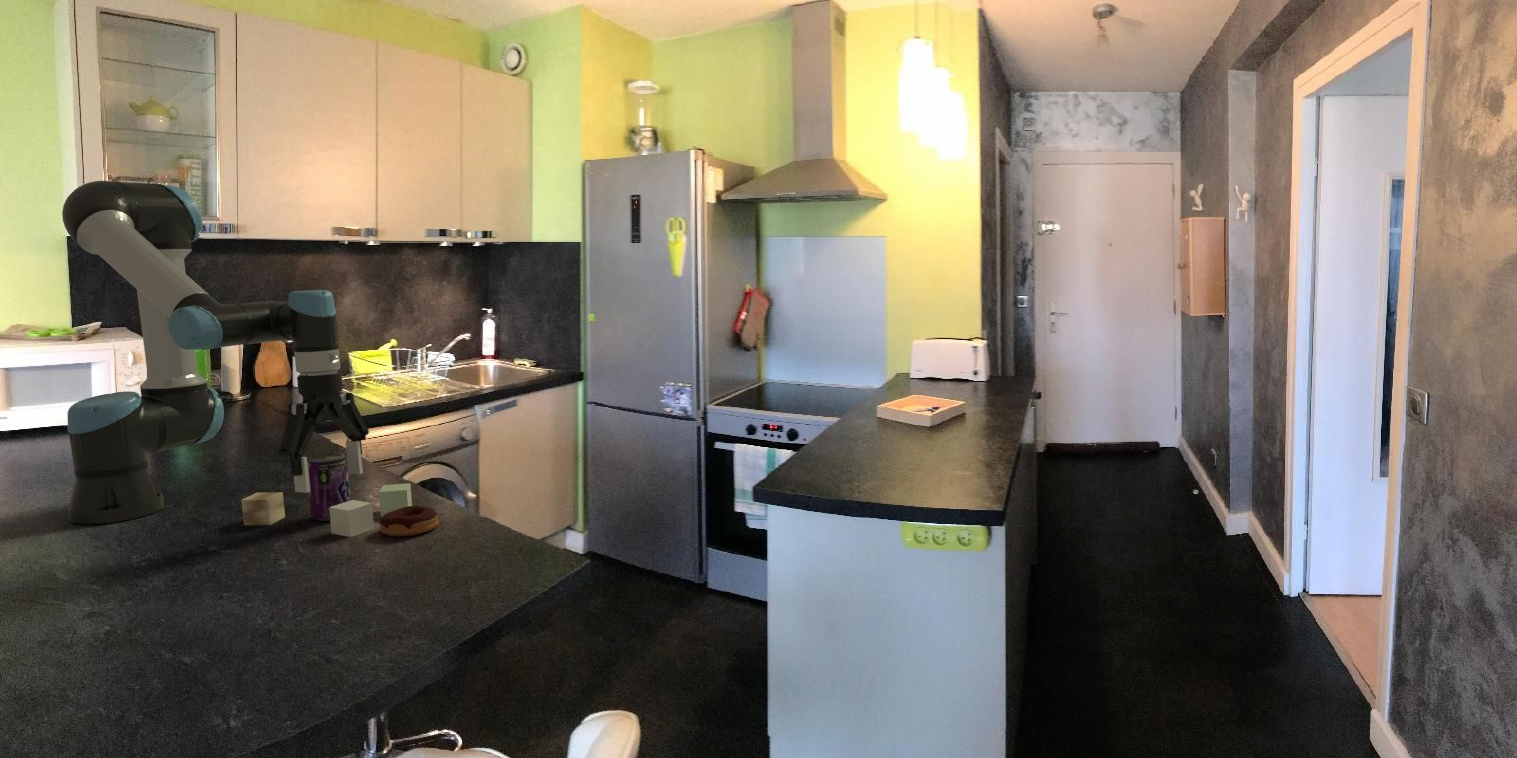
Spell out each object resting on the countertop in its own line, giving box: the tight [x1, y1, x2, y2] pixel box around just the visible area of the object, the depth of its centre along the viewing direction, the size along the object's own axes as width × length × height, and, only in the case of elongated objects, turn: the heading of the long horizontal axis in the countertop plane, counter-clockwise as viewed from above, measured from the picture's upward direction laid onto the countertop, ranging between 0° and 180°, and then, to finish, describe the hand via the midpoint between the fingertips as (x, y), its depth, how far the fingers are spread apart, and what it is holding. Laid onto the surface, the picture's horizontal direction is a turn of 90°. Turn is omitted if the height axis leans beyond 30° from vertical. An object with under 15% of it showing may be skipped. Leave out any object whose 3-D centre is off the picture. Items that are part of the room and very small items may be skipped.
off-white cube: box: [329, 499, 375, 538], centre depth 157 cm, size 5×5×5 cm
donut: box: [378, 505, 440, 538], centre depth 157 cm, size 10×10×4 cm
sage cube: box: [378, 483, 413, 518], centre depth 168 cm, size 5×5×5 cm
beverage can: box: [307, 452, 352, 522], centre depth 165 cm, size 7×7×12 cm
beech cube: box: [241, 491, 286, 526], centre depth 164 cm, size 5×5×5 cm
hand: (330, 482), depth 164 cm, fingers open, 13 cm apart
